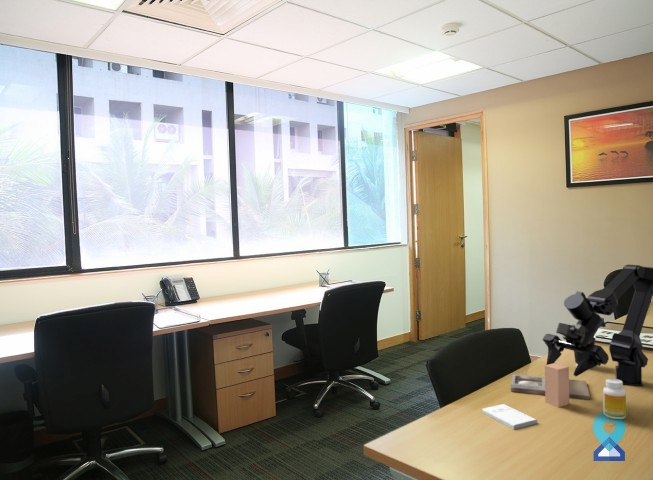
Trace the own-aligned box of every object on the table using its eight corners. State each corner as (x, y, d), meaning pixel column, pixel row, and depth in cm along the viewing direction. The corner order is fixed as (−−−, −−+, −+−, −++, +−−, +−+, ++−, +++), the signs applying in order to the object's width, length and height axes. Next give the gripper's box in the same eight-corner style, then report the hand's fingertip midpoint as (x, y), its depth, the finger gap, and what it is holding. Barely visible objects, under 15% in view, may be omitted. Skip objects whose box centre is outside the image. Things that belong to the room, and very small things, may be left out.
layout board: (585, 383, 157) (585, 377, 157) (590, 399, 144) (589, 392, 144) (513, 377, 166) (512, 370, 165) (511, 391, 153) (510, 384, 153)
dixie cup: (600, 369, 170) (600, 338, 169) (577, 369, 171) (576, 338, 170) (589, 362, 178) (589, 332, 177) (567, 362, 178) (567, 333, 178)
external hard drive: (513, 431, 127) (481, 413, 138) (537, 425, 130) (504, 408, 141) (513, 425, 127) (481, 408, 138) (537, 419, 130) (504, 403, 141)
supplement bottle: (629, 420, 129) (629, 384, 129) (607, 419, 130) (606, 383, 130) (621, 412, 134) (621, 377, 134) (600, 411, 136) (599, 377, 135)
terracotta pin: (556, 398, 146) (555, 362, 145) (569, 403, 141) (568, 366, 141) (545, 401, 144) (544, 365, 143) (558, 407, 140) (557, 369, 139)
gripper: (546, 308, 153) (521, 347, 149) (601, 318, 136) (575, 363, 132) (563, 329, 156) (539, 368, 152) (620, 342, 140) (595, 386, 135)
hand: (560, 371), depth 143 cm, fingers open, 9 cm apart
